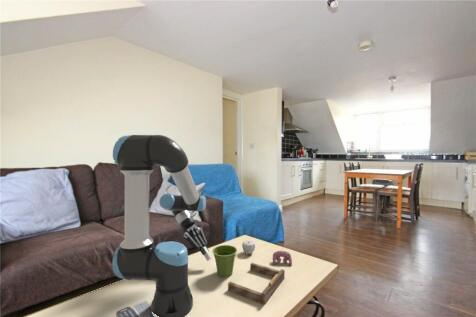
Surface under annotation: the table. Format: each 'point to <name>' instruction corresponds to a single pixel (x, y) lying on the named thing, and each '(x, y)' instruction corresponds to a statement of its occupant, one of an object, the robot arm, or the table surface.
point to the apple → (248, 247)
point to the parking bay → (267, 291)
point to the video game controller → (282, 254)
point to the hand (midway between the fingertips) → (209, 259)
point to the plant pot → (224, 259)
